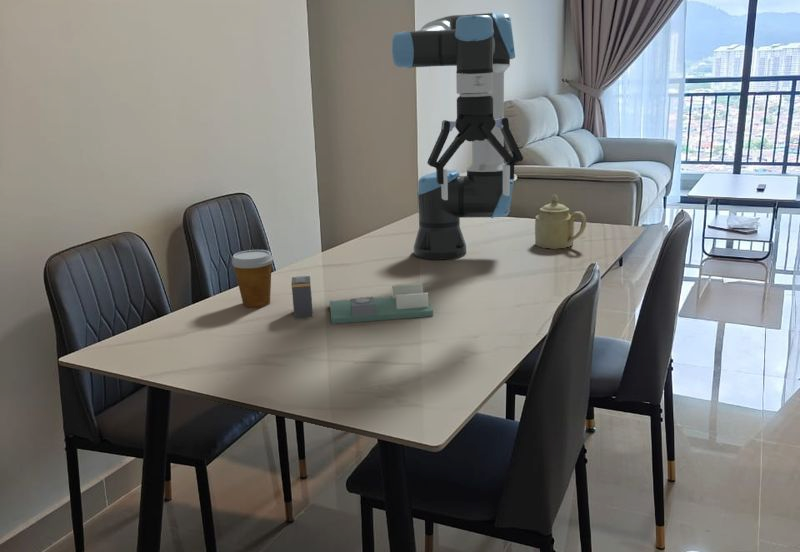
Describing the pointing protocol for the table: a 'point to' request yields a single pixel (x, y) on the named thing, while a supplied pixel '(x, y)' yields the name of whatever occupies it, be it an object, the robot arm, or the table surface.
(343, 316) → the board
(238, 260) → the disposable coffee cup
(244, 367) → the table surface
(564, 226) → the pale yellow ceramic pot
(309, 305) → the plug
